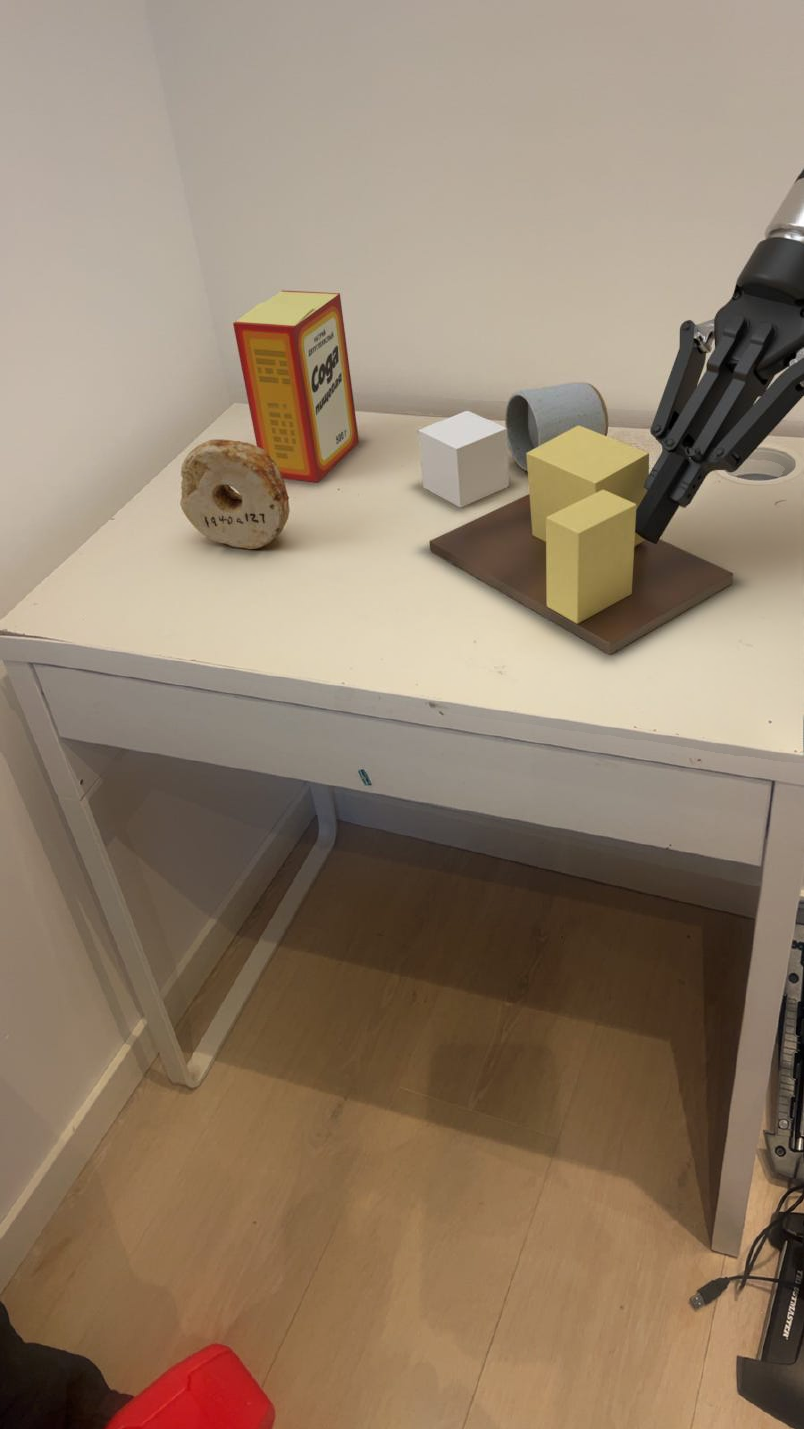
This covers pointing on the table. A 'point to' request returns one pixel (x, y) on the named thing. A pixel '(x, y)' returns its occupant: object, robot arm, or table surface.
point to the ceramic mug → (552, 415)
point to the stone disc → (234, 493)
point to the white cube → (464, 458)
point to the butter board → (518, 570)
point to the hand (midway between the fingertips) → (641, 534)
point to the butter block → (582, 473)
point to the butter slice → (590, 555)
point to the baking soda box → (298, 381)
